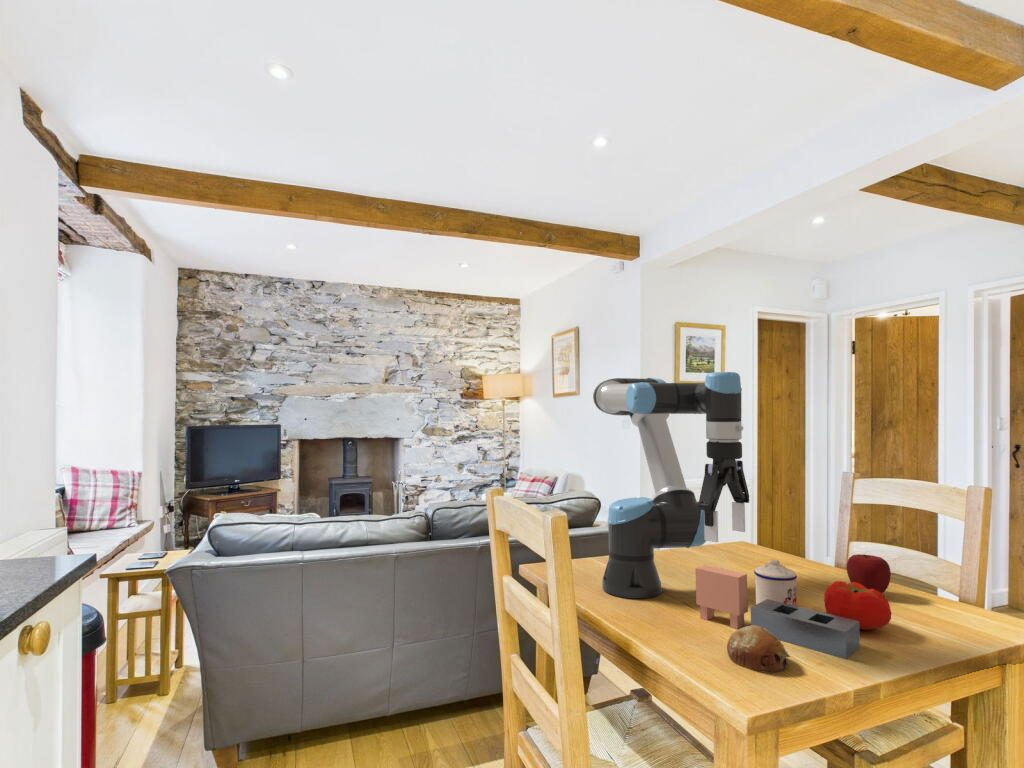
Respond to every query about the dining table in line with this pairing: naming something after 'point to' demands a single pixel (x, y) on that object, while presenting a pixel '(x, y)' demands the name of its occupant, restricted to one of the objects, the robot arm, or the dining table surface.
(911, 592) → the dining table surface
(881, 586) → the apple
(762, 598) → the teacup with lid
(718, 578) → the chamfered pink post
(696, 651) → the dining table surface
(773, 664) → the bread roll
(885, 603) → the tomato
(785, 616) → the grey rectangular block
